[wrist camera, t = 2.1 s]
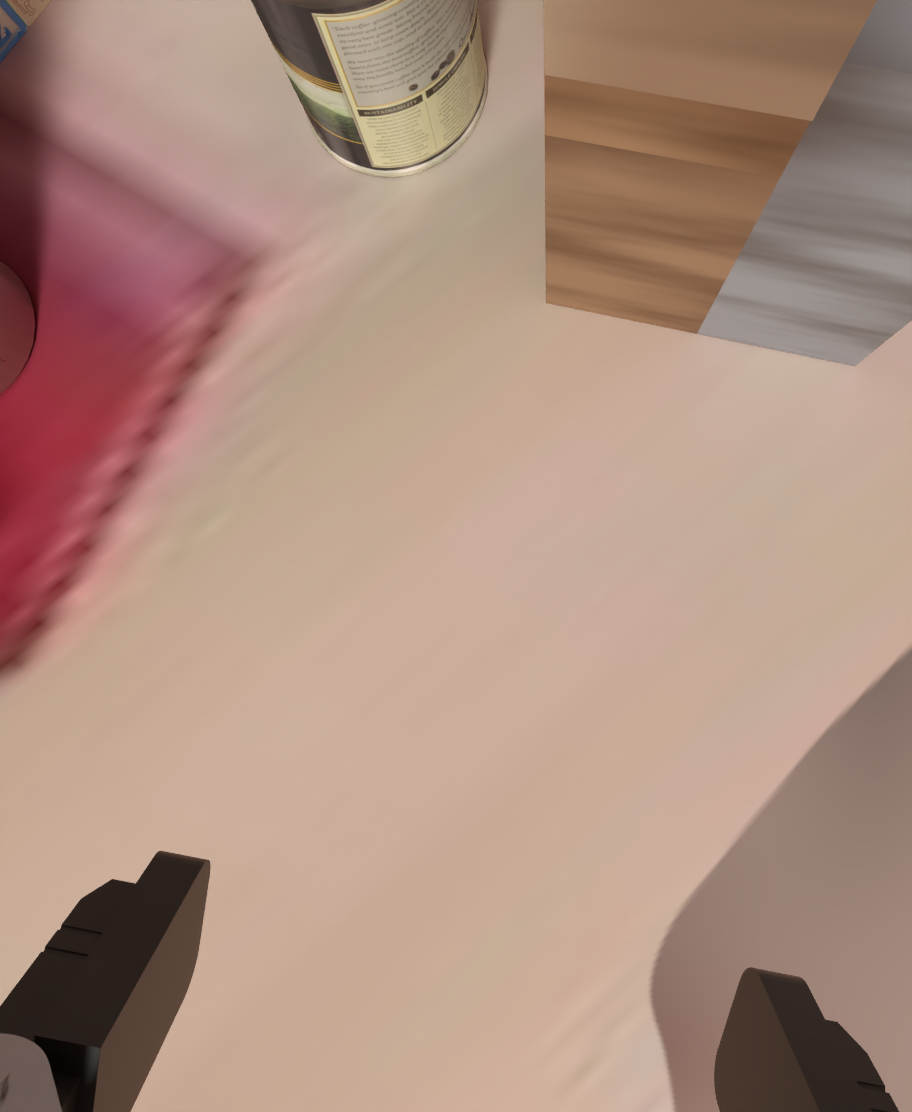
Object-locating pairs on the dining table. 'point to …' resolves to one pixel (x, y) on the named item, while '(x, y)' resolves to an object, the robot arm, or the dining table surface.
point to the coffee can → (383, 76)
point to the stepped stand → (741, 207)
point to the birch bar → (707, 48)
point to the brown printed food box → (17, 21)
